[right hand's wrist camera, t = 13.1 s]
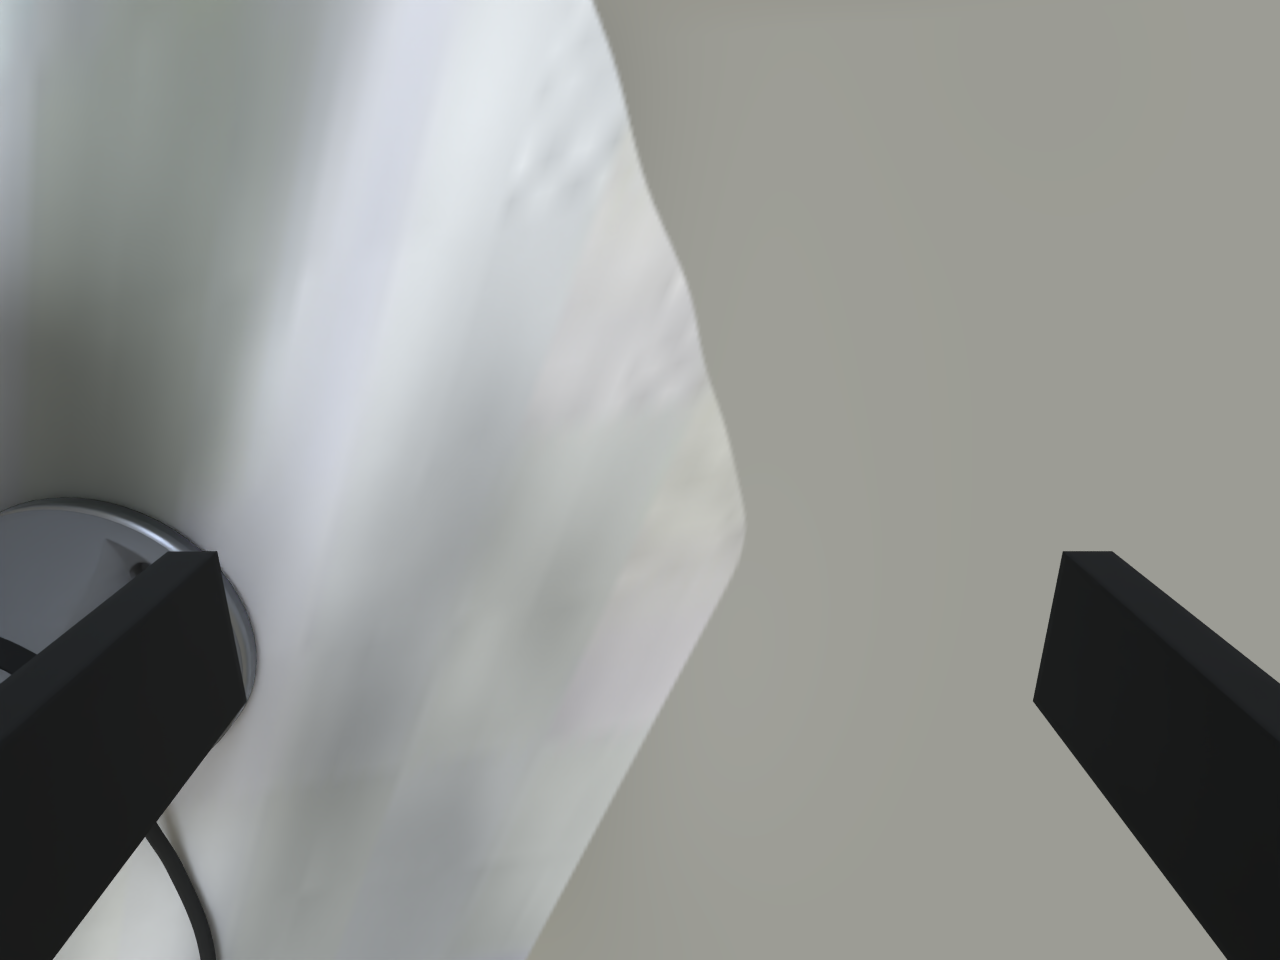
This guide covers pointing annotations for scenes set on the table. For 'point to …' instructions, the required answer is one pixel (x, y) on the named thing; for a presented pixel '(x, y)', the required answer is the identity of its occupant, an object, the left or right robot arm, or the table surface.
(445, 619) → the table surface
